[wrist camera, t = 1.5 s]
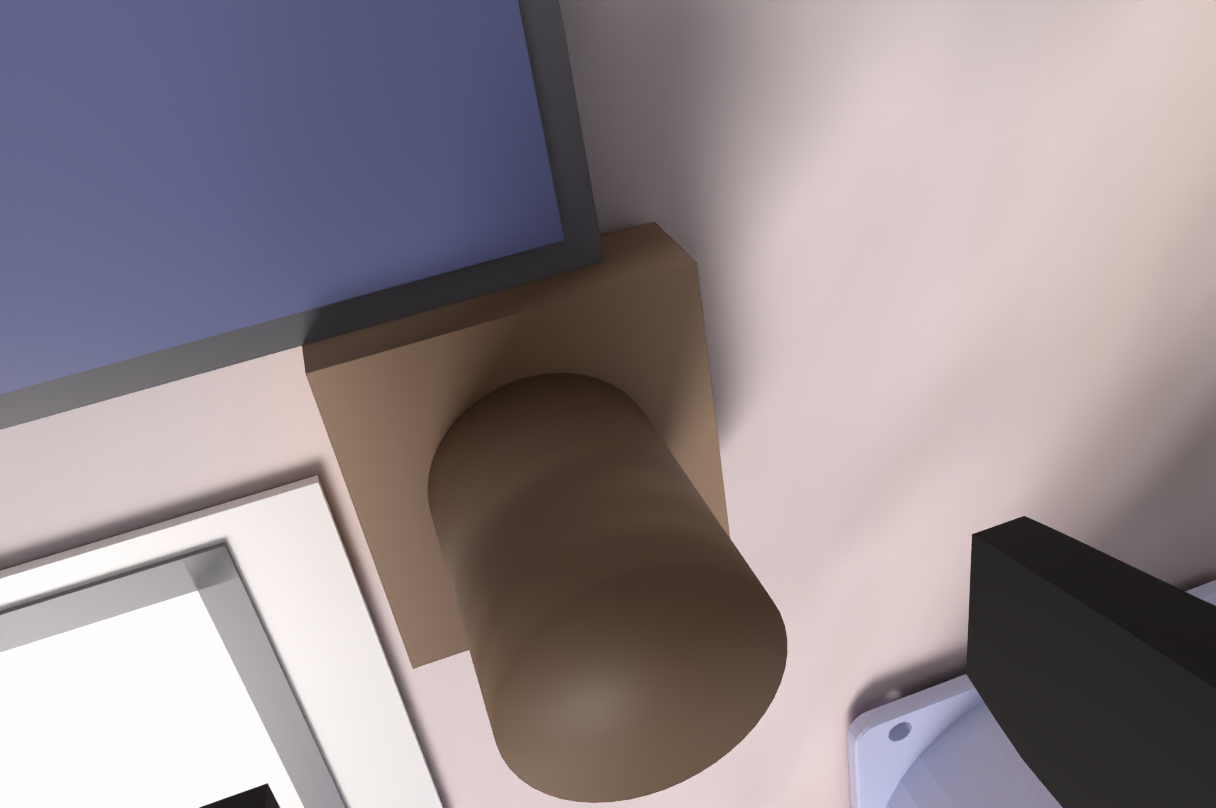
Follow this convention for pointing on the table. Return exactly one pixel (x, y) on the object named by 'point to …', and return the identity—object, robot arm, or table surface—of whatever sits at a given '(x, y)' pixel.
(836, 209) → the table surface
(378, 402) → the stamp
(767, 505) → the table surface
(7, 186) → the ink pad
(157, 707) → the paper
